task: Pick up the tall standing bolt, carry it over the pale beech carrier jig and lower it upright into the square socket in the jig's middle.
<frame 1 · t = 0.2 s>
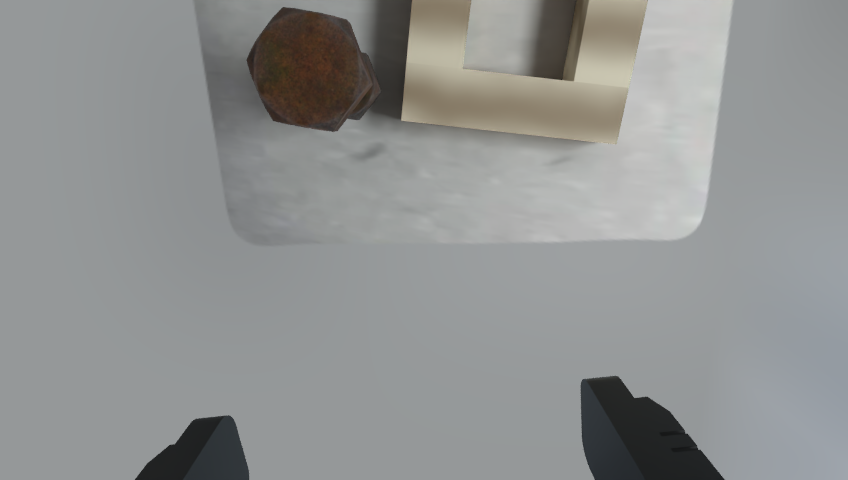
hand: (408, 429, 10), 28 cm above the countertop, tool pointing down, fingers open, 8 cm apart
carrier jig: (518, 22, 34), on the countertop
bolt: (354, 88, 35), on the countertop
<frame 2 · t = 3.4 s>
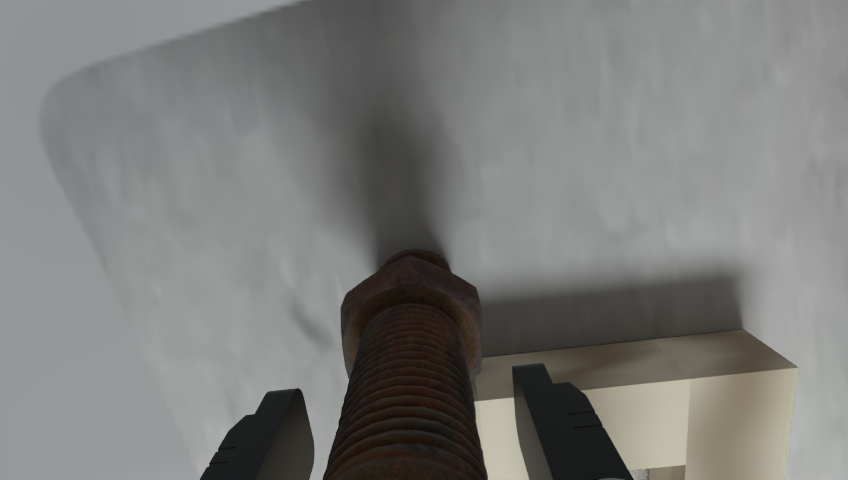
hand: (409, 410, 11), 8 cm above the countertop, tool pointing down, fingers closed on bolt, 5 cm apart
bolt: (415, 279, 19), on the countertop, touching gripper
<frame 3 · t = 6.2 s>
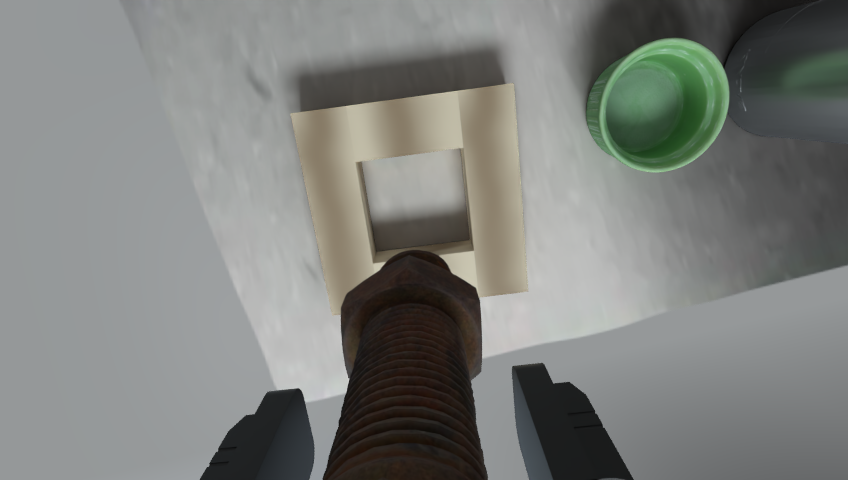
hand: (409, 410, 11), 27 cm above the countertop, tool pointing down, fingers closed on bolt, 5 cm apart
carrier jig: (416, 199, 37), on the countertop
ramekin: (634, 107, 36), on the countertop
bolt: (415, 279, 19), point 19 cm above the countertop, touching gripper
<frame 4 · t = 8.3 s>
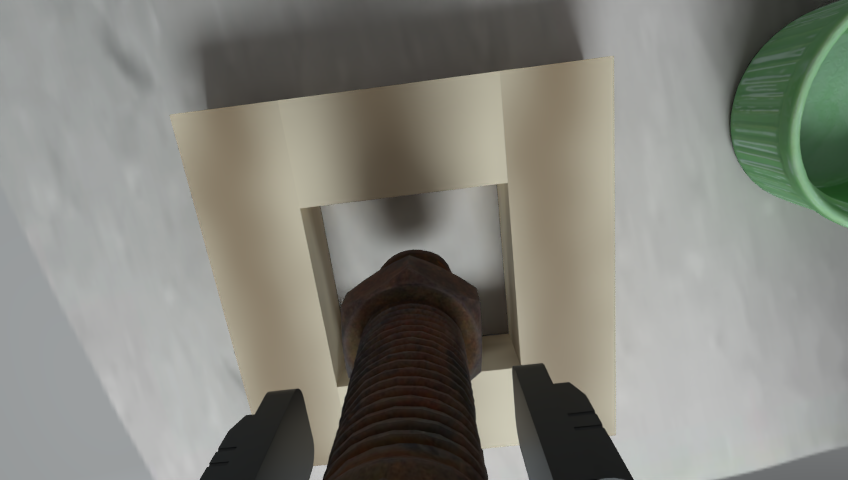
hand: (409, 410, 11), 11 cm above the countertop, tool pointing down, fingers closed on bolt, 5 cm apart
carrier jig: (417, 266, 21), on the countertop
ramekin: (816, 107, 19), on the countertop
bolt: (415, 279, 19), point 2 cm above the countertop, touching gripper
when the fingers open (9 cm above the countertop, at t = 9.4 s): bolt stays where it is, resting in carrier jig.
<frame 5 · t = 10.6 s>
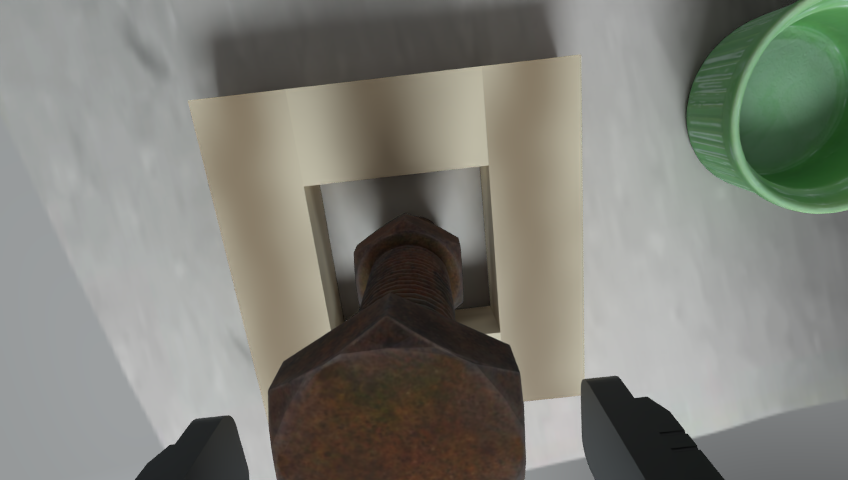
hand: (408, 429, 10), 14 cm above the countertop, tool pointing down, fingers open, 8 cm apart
carrier jig: (408, 243, 23), on the countertop
ramekin: (762, 103, 22), on the countertop
bolt: (411, 241, 24), resting in carrier jig
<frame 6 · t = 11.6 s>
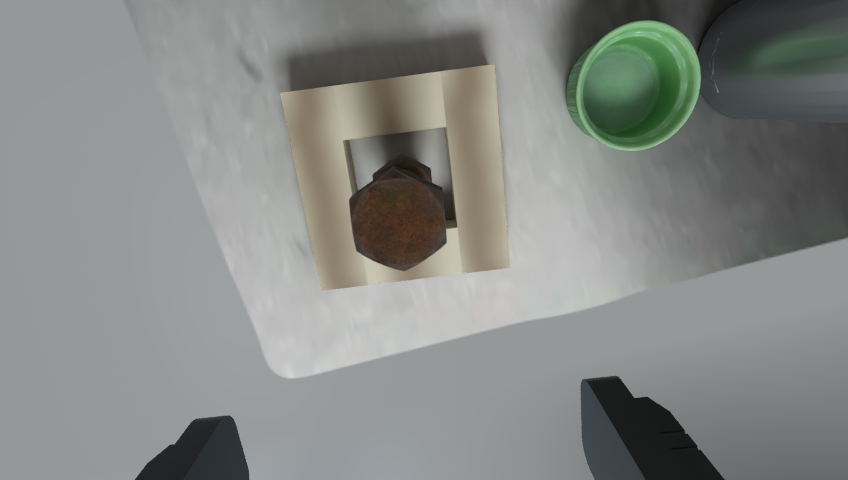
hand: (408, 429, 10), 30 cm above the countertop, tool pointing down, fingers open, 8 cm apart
carrier jig: (403, 179, 38), on the countertop
ramekin: (612, 90, 37), on the countertop
bolt: (405, 178, 39), resting in carrier jig
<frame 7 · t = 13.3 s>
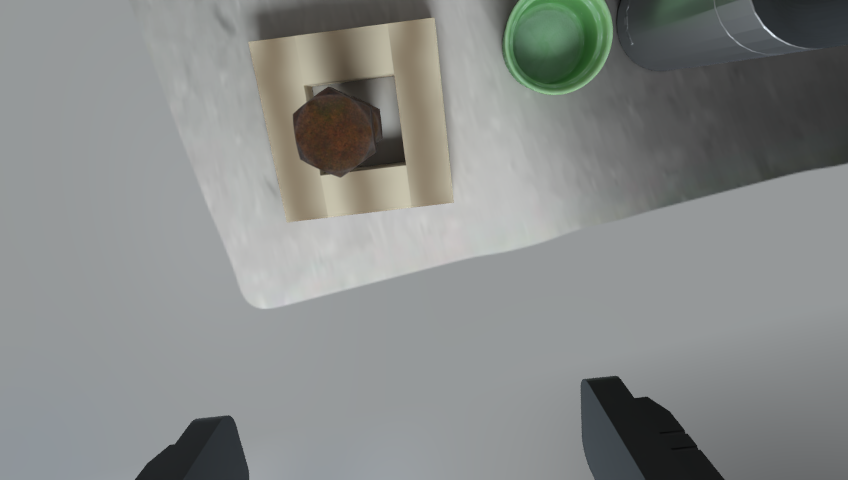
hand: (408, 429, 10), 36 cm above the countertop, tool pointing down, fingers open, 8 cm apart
carrier jig: (360, 124, 43), on the countertop
ramekin: (544, 45, 42), on the countertop
bolt: (362, 124, 44), resting in carrier jig
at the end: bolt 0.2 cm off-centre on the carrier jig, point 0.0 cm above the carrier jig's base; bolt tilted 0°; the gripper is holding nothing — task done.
